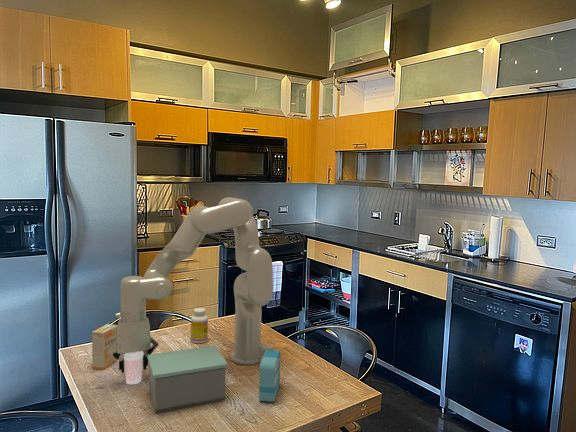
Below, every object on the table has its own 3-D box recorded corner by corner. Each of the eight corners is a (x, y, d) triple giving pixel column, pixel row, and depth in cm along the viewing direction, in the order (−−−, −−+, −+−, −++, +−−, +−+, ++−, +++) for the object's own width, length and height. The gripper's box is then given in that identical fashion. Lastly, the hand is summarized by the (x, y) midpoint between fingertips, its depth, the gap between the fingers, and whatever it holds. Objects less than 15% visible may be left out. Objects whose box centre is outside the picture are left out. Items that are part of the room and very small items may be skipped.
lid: (215, 348, 141) (215, 345, 141) (227, 367, 128) (227, 363, 128) (147, 357, 132) (147, 354, 132) (153, 378, 119) (153, 375, 119)
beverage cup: (136, 374, 143) (135, 334, 142) (147, 380, 140) (147, 338, 138) (119, 381, 138) (119, 339, 137) (131, 387, 135) (130, 344, 133)
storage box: (213, 379, 142) (213, 350, 141) (224, 400, 129) (225, 368, 128) (149, 390, 133) (149, 359, 132) (155, 413, 121) (155, 379, 120)
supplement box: (104, 370, 146) (104, 332, 145) (91, 368, 147) (91, 331, 145) (118, 360, 154) (118, 324, 153) (106, 358, 155) (106, 323, 154)
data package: (273, 404, 128) (274, 365, 126) (258, 402, 128) (259, 364, 127) (279, 384, 139) (280, 349, 138) (265, 383, 140) (266, 348, 139)
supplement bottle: (205, 344, 170) (206, 312, 169) (188, 343, 170) (189, 312, 169) (209, 337, 177) (209, 307, 176) (192, 337, 177) (193, 306, 176)
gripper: (104, 322, 130) (104, 379, 132) (163, 316, 137) (163, 370, 139) (103, 314, 137) (104, 369, 139) (159, 309, 144) (159, 361, 146)
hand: (133, 369), depth 139 cm, fingers closed on beverage cup, 6 cm apart
